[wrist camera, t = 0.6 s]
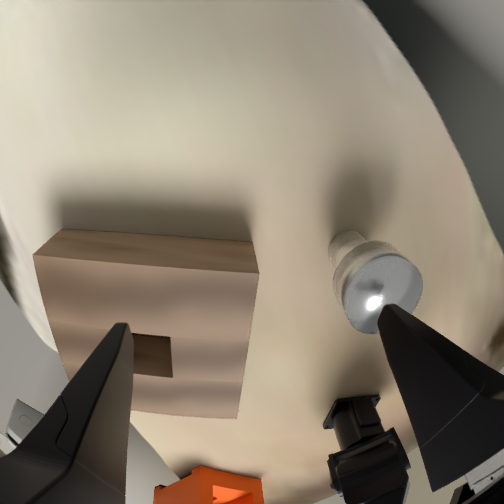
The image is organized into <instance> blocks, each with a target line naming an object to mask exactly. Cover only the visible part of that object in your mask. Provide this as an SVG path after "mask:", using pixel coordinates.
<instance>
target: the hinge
mask: <svg viewBox="0 0 504 504" xmlns="http://www.w3.org/2000/svg"><path fill="white" fill-rule="evenodd" d="M43 416H44V414H42V413H41V412H39V411H37V410H35V409H33V408H32V407H30V406H28V405H27V404H25V403H23V402H22V401H20V400H19V399H17V400H16V402H15V404H14V407H13V410H12V413H11V416H10V419H9V422H8V424H7V428H6V429H7V431H6V437H7V441H8V443H9V444H10V445H11V446H12V447H13V448H14V449H15V448H16V447H17V446H18V445H19V444H20V442H21V441H22V440H23V439H24V438H25V437H26V436H27V435H28V433H29V432H30V431H31V430H32V429H33V428H34V427H35V426H36V424H37V423H38V422H39V421H40V420H41V418H42V417H43Z"/></svg>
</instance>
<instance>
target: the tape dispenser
mask: <svg viewBox="0 0 504 504" xmlns="http://www.w3.org/2000/svg"><path fill="white" fill-rule="evenodd" d="M153 504H264V499H263V491H262V483H261V479H256V478H251V477H246V476H241V475H236V474H232V473H228V472H223V471H219V470H215V469H212V468H208V467H204V466H201V465H200V466H198V467H196V468H195V469H193V470H192V475H190V476H188V477H186V478H184V479H182V480H180V481H178V482H176V483H173V484H171V485H169V486H164V485H161V484H160V485H158V486H156V487H155V490H154V501H153Z"/></svg>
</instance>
